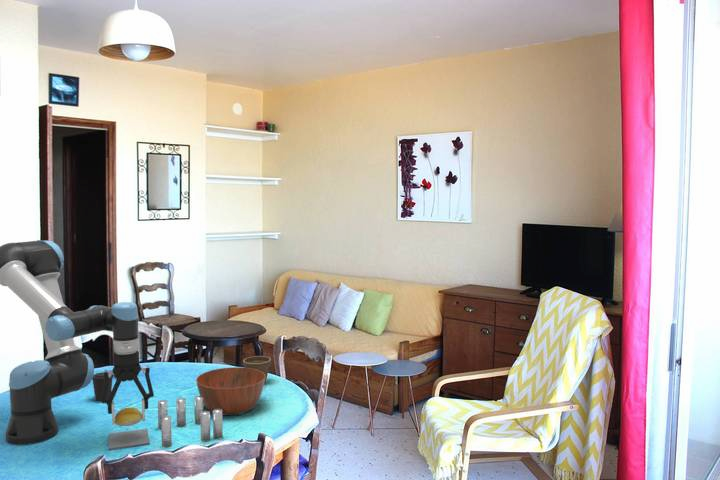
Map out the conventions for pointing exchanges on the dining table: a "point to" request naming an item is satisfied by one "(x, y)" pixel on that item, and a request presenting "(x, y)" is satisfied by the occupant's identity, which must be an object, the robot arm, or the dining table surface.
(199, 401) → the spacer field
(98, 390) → the coffee cup
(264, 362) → the flower pot
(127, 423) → the bread roll
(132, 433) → the slate coaster
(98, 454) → the dining table surface
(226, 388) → the bowl
